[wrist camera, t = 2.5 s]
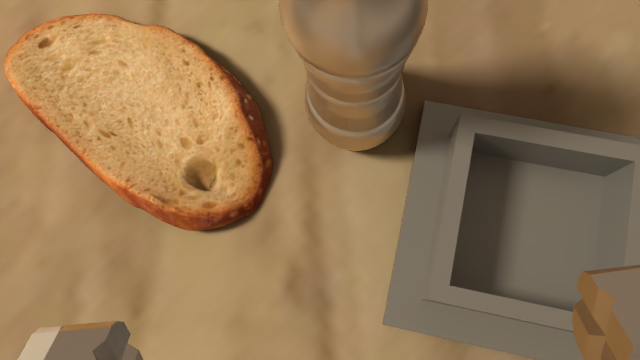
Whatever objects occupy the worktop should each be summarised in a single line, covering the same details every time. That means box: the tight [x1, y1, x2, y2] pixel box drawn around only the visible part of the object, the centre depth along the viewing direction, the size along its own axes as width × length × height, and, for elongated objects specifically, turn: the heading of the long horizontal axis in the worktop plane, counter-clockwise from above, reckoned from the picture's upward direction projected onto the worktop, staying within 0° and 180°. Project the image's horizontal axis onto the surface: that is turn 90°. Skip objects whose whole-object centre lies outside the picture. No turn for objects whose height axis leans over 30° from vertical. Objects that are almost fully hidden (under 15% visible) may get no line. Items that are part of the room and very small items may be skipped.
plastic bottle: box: [279, 0, 428, 151], centre depth 28 cm, size 6×7×20 cm
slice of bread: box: [5, 14, 273, 230], centre depth 37 cm, size 18×18×4 cm
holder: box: [383, 100, 640, 360], centre depth 33 cm, size 15×15×5 cm
